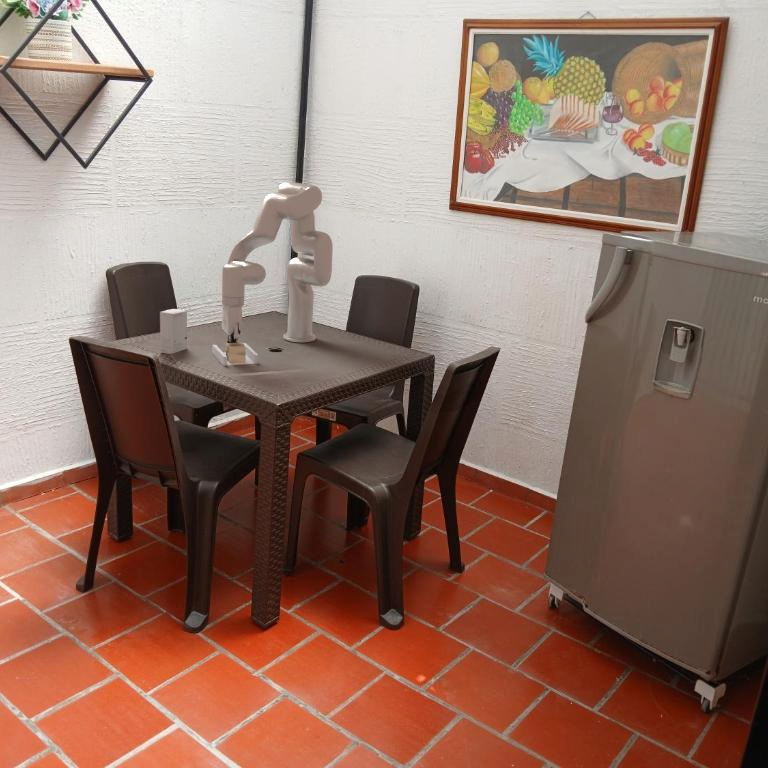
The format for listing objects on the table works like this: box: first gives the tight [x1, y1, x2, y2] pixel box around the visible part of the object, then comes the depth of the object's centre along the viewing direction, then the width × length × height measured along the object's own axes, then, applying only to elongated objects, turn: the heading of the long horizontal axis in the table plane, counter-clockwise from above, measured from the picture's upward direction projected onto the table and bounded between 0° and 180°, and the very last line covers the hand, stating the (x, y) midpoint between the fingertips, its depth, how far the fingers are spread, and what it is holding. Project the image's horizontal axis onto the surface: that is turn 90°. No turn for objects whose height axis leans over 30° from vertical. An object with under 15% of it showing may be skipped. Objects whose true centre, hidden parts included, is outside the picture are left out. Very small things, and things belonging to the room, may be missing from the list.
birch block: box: [225, 341, 246, 363], centre depth 277 cm, size 6×6×6 cm
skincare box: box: [159, 308, 188, 356], centre depth 283 cm, size 8×6×15 cm
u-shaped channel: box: [212, 342, 259, 366], centre depth 280 cm, size 15×12×4 cm
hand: (232, 351), depth 282 cm, fingers closed
